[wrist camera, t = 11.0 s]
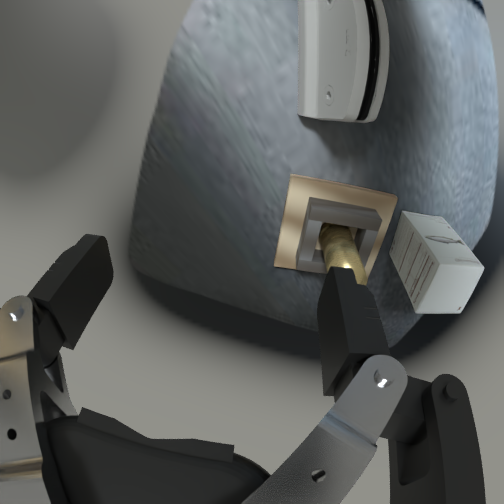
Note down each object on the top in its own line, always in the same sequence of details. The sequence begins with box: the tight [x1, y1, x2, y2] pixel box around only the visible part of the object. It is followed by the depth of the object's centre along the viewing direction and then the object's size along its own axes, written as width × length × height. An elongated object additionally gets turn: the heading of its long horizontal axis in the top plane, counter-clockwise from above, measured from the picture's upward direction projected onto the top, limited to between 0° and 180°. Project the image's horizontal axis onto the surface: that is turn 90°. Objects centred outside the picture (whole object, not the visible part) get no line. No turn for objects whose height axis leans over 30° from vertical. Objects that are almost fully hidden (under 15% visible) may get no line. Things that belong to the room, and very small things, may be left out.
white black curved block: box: [298, 0, 389, 123], centre depth 23 cm, size 17×5×10 cm, turn 1°
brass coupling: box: [319, 222, 368, 286], centre depth 33 cm, size 4×4×10 cm
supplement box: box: [389, 211, 484, 314], centre depth 32 cm, size 7×7×13 cm
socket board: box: [274, 174, 398, 278], centre depth 36 cm, size 13×14×4 cm
